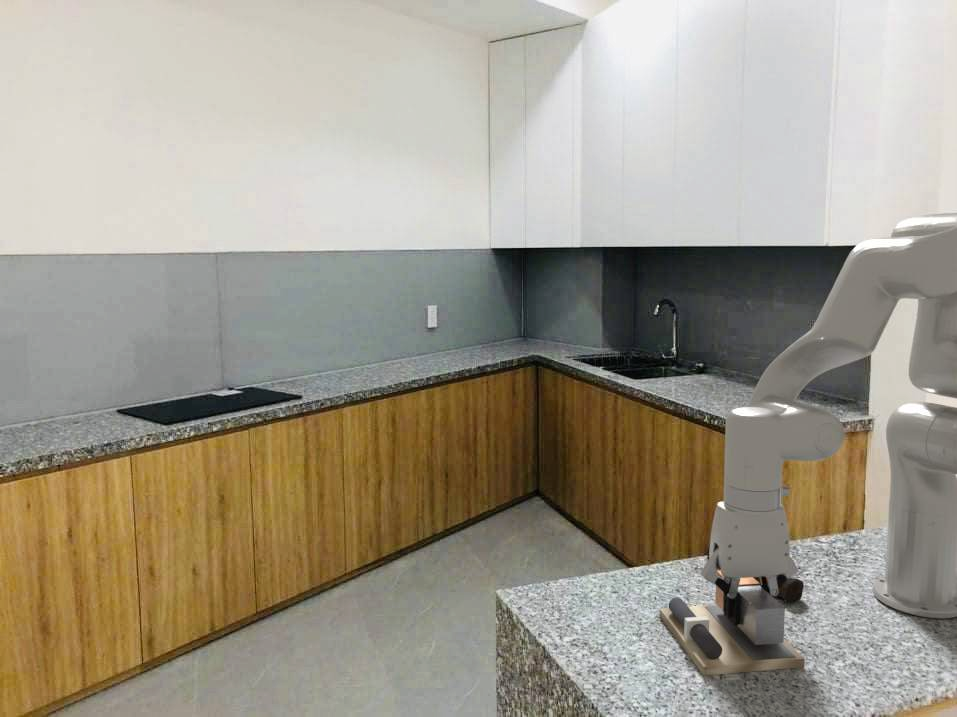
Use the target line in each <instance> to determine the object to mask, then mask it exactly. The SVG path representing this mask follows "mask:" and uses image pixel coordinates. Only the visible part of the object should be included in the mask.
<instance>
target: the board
mask: <svg viewBox="0 0 957 717" xmlns="http://www.w3.org/2000/svg"><path fill="white" fill-rule="evenodd" d="M688 607H689V608H690V610H691V611H692V612H693V613H694V614H695V616H696V617H703V616H707V618H708V619H709V632H710V633H711V635H712V636H713V637H714V638H715V639H716V640H717V642H718V643H719V644H720V645H721V647H722V654H721V656H720V657H719V658H717V659H714V660H712V659H709V658H707V657H706V655H705V654H704V653H703V651H702V650H701V649H700V648H699V646H698V645H697V644H696V642H695V641H694V640H691V641H687V640H686V639H685V638H684V627H683V626H682V625H681V623H680V622H679V621H678V619H677V618H676V617H675V616H674V614H673V613H672V612H671V611H670V609H669V607H665V608H659V617H660V619H661V620H662V621H663V623H664V624H665V626H666V627H667V628H668V629H669V631H670V632H671V634H672V635H673V636H674V638H675V639H676V640H677V641H678V643H679V644H680V645H681V647H682V648H683V649H684V651H685V652H686V654H687V656H689V658H690V659H691V661H692V662H693V663H694V664H695V666H696V668H697V669H698V670H699V671H700V673H701V674H702V675H703V676H713V675H714V676H715V675H716V676H717V675H725V674H727V675H728V674H737V673H738V674H739V673H747V672H748V673H750V672H751V673H752V672H761V671H762V672H763V671H775V670H783V669H797V668H805V665H806V664H805V662H806V659H805V657H804V656H803V655H802V654H801V653H799V651H798V650H796V649H795V648H794V647H793V645H791V643H789V642H788V641H787V640H786V639H785V638H784V642H783V643H773V644H761V645H755V644H754V643H753V642H752V641H751V640H750V639H749V638H748V637H747V635H746V634H745V633H744V632H743V631H742V630H741V629H740V628H739V627H738V626H737V625H733V624H732V622H731V621H730V620H729V619H728V618H727V617H726V616H725V615H724V612H723V611H722V609H721V608H720V607H719V606H718V605H717V604H707V605H706V604H705V605H693V606H692V605H691V606H688Z"/></svg>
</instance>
